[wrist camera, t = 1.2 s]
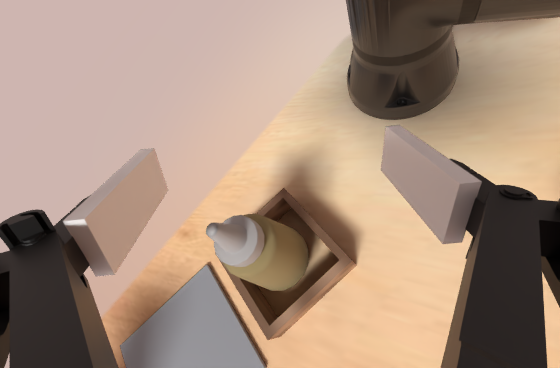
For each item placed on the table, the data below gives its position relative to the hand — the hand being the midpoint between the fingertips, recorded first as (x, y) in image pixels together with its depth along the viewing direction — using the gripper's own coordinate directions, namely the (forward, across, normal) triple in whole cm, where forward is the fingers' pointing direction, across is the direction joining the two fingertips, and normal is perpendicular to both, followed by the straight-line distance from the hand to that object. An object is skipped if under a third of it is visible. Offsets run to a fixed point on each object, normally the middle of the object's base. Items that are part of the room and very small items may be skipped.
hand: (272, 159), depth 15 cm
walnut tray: (+13, 0, -21) cm, 24 cm away
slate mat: (+7, -15, -31) cm, 35 cm away
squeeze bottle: (+13, 0, -21) cm, 25 cm away
